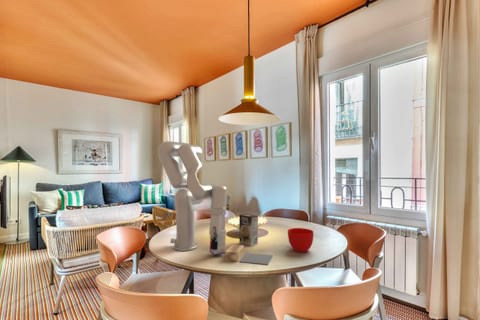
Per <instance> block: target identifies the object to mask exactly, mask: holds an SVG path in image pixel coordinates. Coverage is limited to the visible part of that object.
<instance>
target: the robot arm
mask: <svg viewBox="0 0 480 320" xmlns="http://www.w3.org/2000/svg"><path fill="white" fill-rule="evenodd" d="M157 156H158V160H159V162H160V164H161V165H162V167H163V169H164V171H165V173H166V176H167V179H168V181H169V184H170V185H171V186H172V188H174V189H175V190H177V191H176V192H175V195H174V204H175V209H176V211H175V213H176V218H175V219H176V225H175V226H176V233H175V234H176V238H170V241H169V242H170V244H174V245H173V249H174V250H175V251H179V252H187V251H192V250H195V249H197V248H198V244H197V243H196V242H195V211H194V209H193V207H192V206H195V205H196V206H197V205H200V204H202V203H203V202H204V201H205V200H211V201H210V203H211V204H210V221H209V233H208V235H210V236H211V249H213V250H217V249H218V241H217V239H218V236H219V235H220V234H221V231H222V230H223V229H224V230H226V215H227V202H228V201H227V200H228V188H227V187H226V186H225V185H216V184H213V183H208V184H207V183H205V184H201V183H200V181H199V178H198V177H197V174H198V173H199V172H200V171H201V170H202V169H203V163H202V162H201V160H200V159H201V158H202V156H203V150H202V148H201V147H200V146H199V145H197V144H192V143H187V142H181V141H180V142H179V141H178V142H177V141H170V140H169V141H168V140H167V141H163V142H161V143H160V144H159V145H158V149H157ZM174 157H176V158H177V157H178V158H179V159H180V160H181V162H182V165H183V166H184V168H185V170H186V171H184V170H183V169H182V167H181V165H180V163H179V161H177V159H175V158H174ZM215 231H216V233H217V235H216V234H214V233H215ZM210 236H209V237H210ZM214 236H216V238H215V237H214Z"/></svg>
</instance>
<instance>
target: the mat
mask: <svg viewBox="0 0 480 320" xmlns="http://www.w3.org/2000/svg"><path fill="white" fill-rule="evenodd" d="M272 257H273V255H272V254H262V253H251V252H246V253H244V254H243V256H242V257H241V258H240V259H239V263H246V264H255V265H262V266H263V265H265V266H268V265H269V263H270V262H271V260H272Z"/></svg>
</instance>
